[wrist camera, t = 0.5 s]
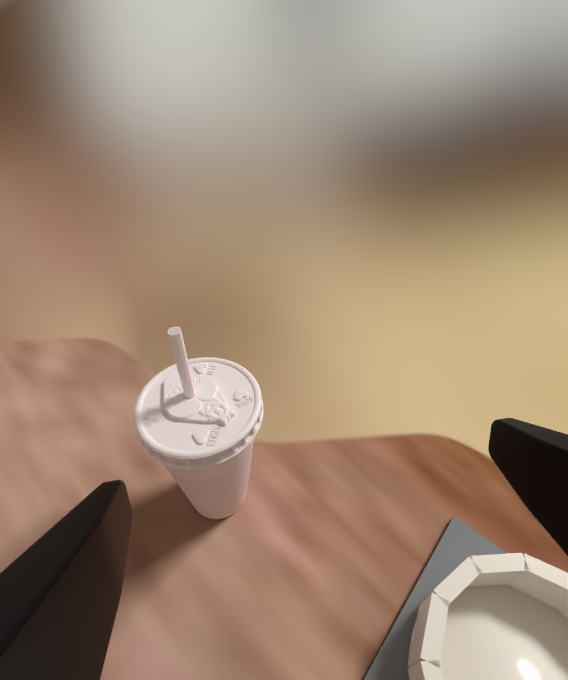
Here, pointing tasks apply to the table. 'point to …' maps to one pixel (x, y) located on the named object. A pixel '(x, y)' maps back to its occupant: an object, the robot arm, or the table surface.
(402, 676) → the mat
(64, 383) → the table surface
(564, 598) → the white bowl
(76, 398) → the table surface
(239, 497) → the smoothie
